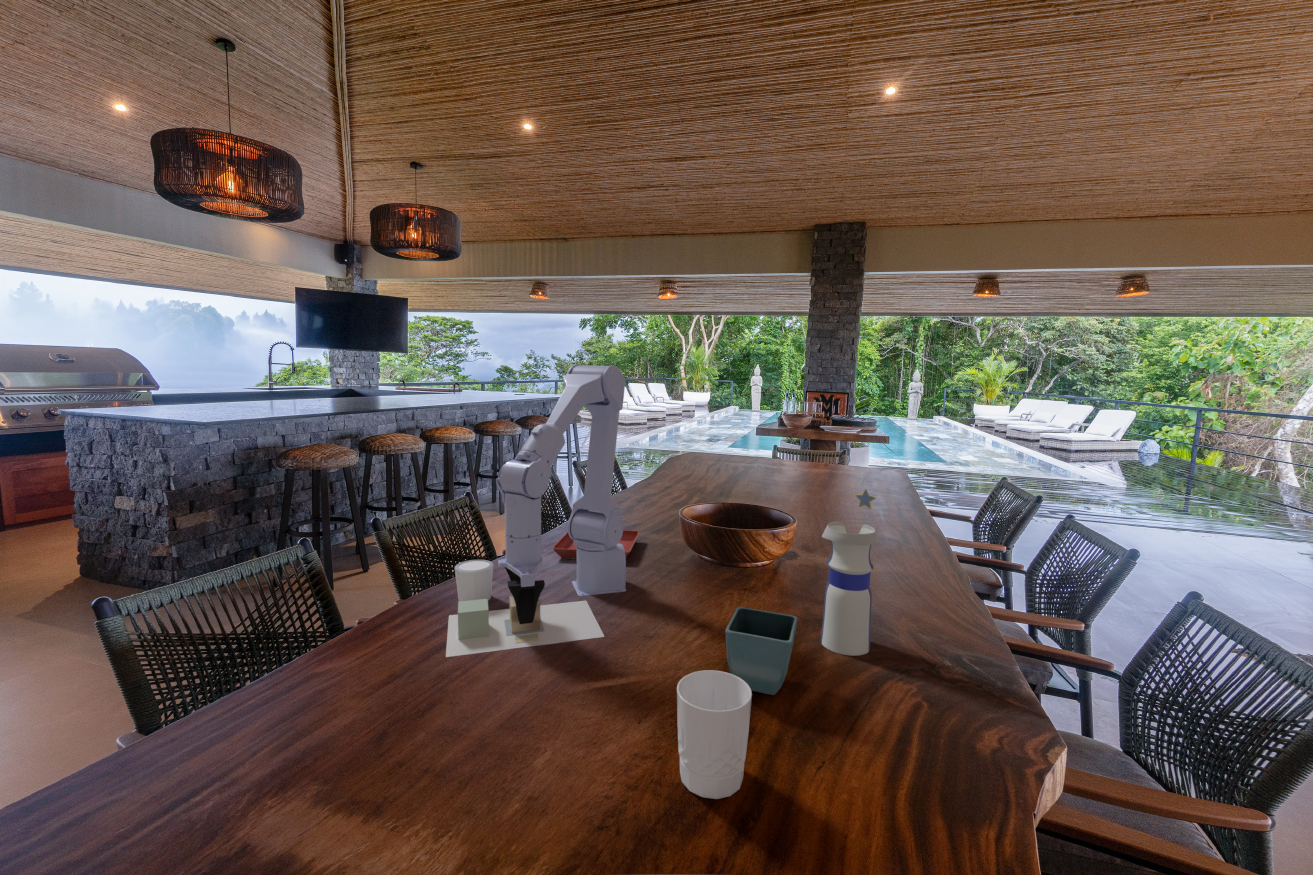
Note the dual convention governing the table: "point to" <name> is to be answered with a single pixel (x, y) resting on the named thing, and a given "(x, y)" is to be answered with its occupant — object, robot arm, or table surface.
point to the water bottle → (848, 588)
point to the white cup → (712, 732)
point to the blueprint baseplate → (554, 628)
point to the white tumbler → (474, 579)
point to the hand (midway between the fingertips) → (523, 612)
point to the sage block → (473, 619)
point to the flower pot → (760, 647)
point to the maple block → (515, 622)
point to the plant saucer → (569, 550)
